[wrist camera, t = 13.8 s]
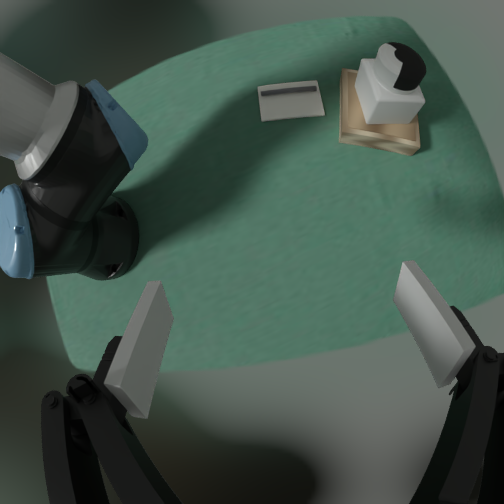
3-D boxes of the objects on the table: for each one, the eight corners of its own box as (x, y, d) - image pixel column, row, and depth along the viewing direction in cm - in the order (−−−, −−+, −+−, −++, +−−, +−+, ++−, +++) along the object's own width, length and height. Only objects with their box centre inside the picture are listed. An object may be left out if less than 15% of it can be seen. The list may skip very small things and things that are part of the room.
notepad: (262, 123, 40) (260, 118, 38) (258, 89, 40) (256, 83, 38) (324, 117, 38) (325, 111, 37) (316, 83, 39) (317, 77, 37)
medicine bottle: (395, 85, 32) (418, 39, 20) (409, 124, 31) (441, 83, 20) (353, 85, 33) (366, 33, 21) (365, 125, 33) (386, 78, 21)
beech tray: (339, 142, 38) (342, 131, 33) (339, 81, 37) (342, 67, 33) (411, 156, 35) (420, 147, 31) (406, 94, 35) (413, 82, 31)
